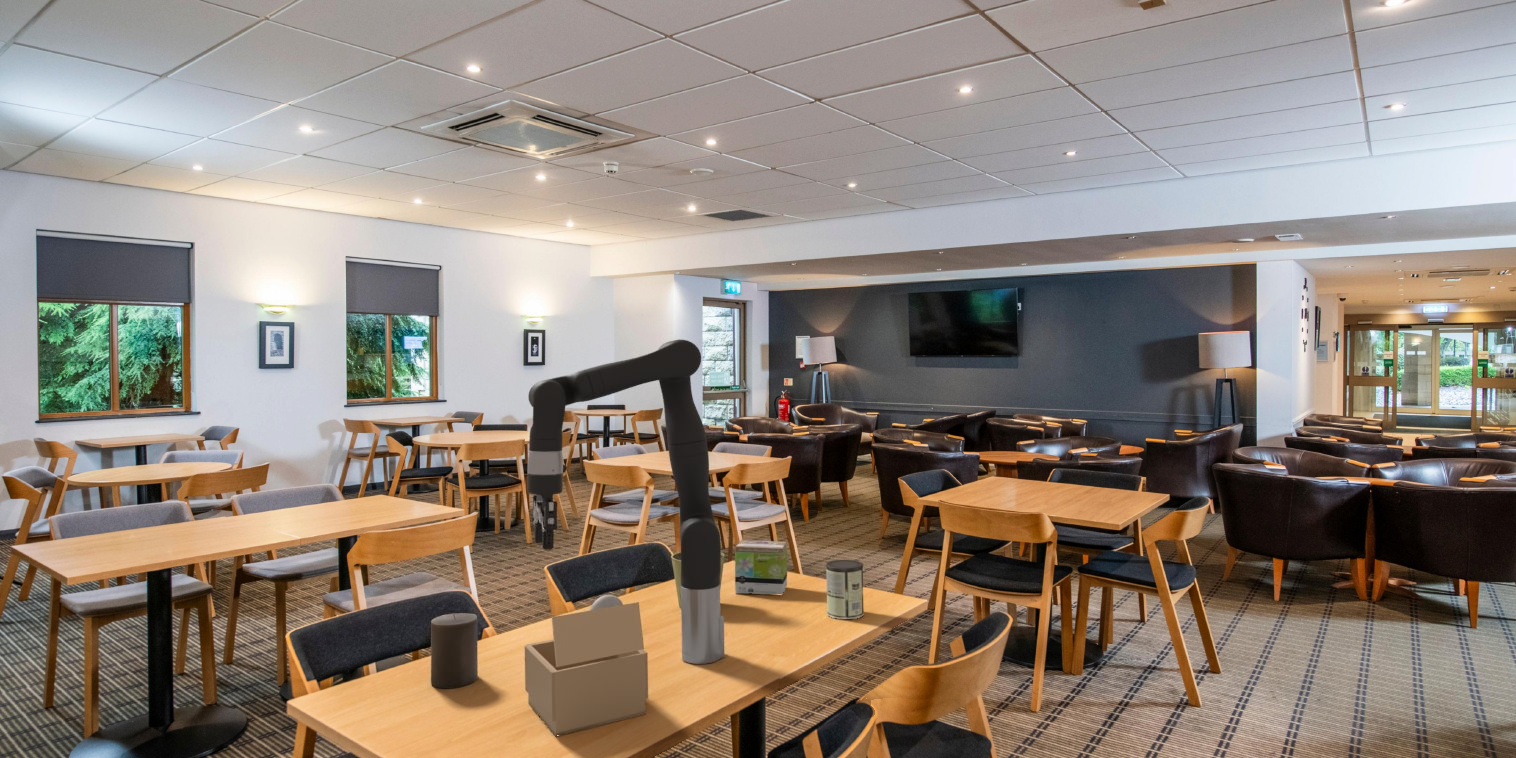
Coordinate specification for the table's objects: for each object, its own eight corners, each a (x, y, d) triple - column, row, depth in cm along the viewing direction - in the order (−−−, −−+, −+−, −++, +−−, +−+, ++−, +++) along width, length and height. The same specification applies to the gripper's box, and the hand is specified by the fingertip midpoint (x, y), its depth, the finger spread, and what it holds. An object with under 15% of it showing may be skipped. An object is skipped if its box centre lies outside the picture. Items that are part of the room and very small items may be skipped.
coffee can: (836, 607, 229) (836, 557, 229) (870, 612, 224) (869, 561, 224) (819, 616, 221) (819, 565, 221) (853, 622, 215) (853, 569, 215)
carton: (613, 683, 174) (612, 628, 174) (648, 713, 159) (647, 652, 159) (524, 703, 164) (523, 644, 164) (552, 737, 148) (551, 672, 148)
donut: (592, 639, 204) (592, 599, 204) (586, 635, 207) (585, 597, 207) (627, 630, 211) (626, 592, 211) (620, 627, 213) (620, 590, 213)
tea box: (734, 594, 244) (734, 546, 244) (740, 586, 254) (740, 539, 254) (783, 596, 242) (783, 547, 242) (787, 587, 252) (787, 540, 252)
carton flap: (637, 602, 160) (638, 602, 160) (642, 648, 158) (644, 649, 158) (551, 617, 151) (552, 616, 150) (556, 666, 149) (557, 666, 148)
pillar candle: (450, 692, 171) (450, 621, 171) (421, 683, 176) (421, 614, 176) (487, 677, 179) (487, 610, 179) (458, 669, 184) (458, 604, 184)
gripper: (570, 473, 171) (568, 550, 170) (555, 468, 184) (554, 539, 183) (534, 475, 168) (532, 553, 167) (521, 469, 180) (520, 541, 180)
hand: (543, 545), depth 175 cm, fingers open, 8 cm apart
